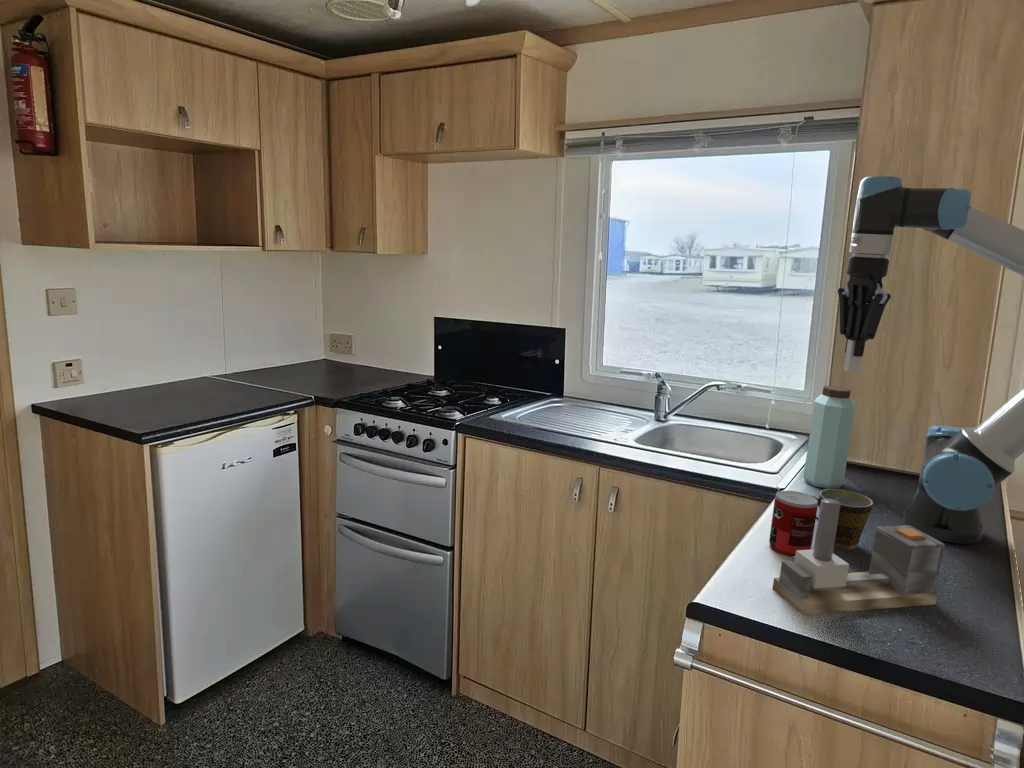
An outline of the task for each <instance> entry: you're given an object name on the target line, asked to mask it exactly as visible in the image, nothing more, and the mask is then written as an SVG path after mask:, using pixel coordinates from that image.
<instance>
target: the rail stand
mask: <svg viewBox="0 0 1024 768" xmlns="http://www.w3.org/2000/svg"><path fill="white" fill-rule="evenodd" d="M875 527H876V529H875V535H874V540H873V546H872V551H871V558H870V564H869V570H868V571H861V572H859V571H858V572H848V575H847V581H846V586H842V587H828V588H813V587H812V586H811V585H810V583H811V576H810V575H809V574H807V573H806V572H805V571H803V570H802V569H801V568H799V567H798V566H797V565H796V564H794V562H793V561H792V560H790V559H789V560H782V561H781V565H780V571H779V577H774V578H773V582H772V589H773V590H774V591H775V592H776V593H777V594H778V595H779V596H780V597H782V598H783V599H784V600H785V601H786V602H788V603H789V604H790V605H791V606H793V607H794V608H795V609H796V610H797V611H798V612H799V613H800V614H801V615H803V616H809V615H819V614H830V613H831V614H833V613H845V612H847V613H848V612H858V611H869V610H871V611H872V610H881V609H883V610H884V609H892V608H893V609H895V608H907V607H920V606H921V607H922V606H929V605H931V606H932V605H936V604H937V600H938V599H937V598H938V593H937V592H936V591H937V587H938V586H937V585H938V582H939V581H938V580H939V575H940V572H941V571H940V570H941V566H942V561H943V555H944V550H945V546H946V545H945V543H943V541H941V540H937V539H934V538H933V537H931V536H929V535H927V534H925V533H923V532H921V531H920V530H918V529H916V528H914V527H912V526H910V525H904V524H903V525H885V526H875ZM907 528H912V529H914V530H915V531H917V532H919V533H921V534H923V535H924V539H919V540H908V539H906V538H904V537H902V536H901V535H899V534H897V533H896V531H897V529H907Z"/></svg>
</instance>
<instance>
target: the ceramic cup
mask: <svg viewBox="0 0 1024 768" xmlns="http://www.w3.org/2000/svg"><path fill="white" fill-rule="evenodd" d="M818 494H819V498H818V497H816V495H812V494H811V495H810V494H809V495H810V496H812V497H814V498H816V499H817V501H818V508H819V509H820V505H821V500H822V499H832V500H836V501H838V502H840V503H841V504H840V511H839V517H838V523H837V530H836V536H835V542H834V549H835V548H837V549H838V550H841V549H844V550H843V551H851V550H850V549H852V550H855V549H854V548H856V549H857V548H858V545H859V543H860V540H861V537H862V534H863V531H864V529H865V526H866V524H867V522H868V519H869V517H870V515H871V512H872V508H873V506H874V502H873V500H872V499H871V498H869V497H868V496H866V495H863V494H861V493H858V492H855V491H851V490H845V489H840V488H834V489H826V488H825V489H822V490H820V491H819V493H818ZM818 518H819V516H816V520H817V522H818ZM837 549H836V550H837Z"/></svg>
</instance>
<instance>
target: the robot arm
mask: <svg viewBox="0 0 1024 768" xmlns="http://www.w3.org/2000/svg"><path fill="white" fill-rule="evenodd" d="M857 192H858V193H857V197H856V200H855V206H854V207H855V209H854V216H853V225H852V231H851V239H850V245H849V253H850V254H852V255H851V256H849V257H847V263H846V268H845V269H846V271H845V272H846V274H847V275H848V276H849V278H848V280H847V282H846V283H847V284H846V285H845V286H844V287H839V288H838V289H837V295H838V298H839V333H840V335H843V336H844V337H845V339H846V342H845V349H844V353H845V355H844V364H843V369H842V370H843V371H844V372H849V373H852V372H853V373H855V372H856V373H860V369H861V363H862V362H861V361H862V358H863V356H864V351H865V348H866V347H865V346H866V342H867V341H868V340H874V339H875V337H876V334H877V332H878V331H877V330H878V328H879V326H880V322H881V319H882V316H883V314H884V311H885V307H886V305H888V302H889V301H890V300H891V294H890V293H886V292H885V291H884V290H883V278H885V277H887V276H888V272H889V271H888V270H889V265H890V260H889V258H887V257H888V256H890V255H891V253H892V247H893V241H894V233H895V232H894V231H895V228H896V227H898V228H913V229H914V228H915V229H921V230H924V231H927V232H930V233H932V234H934V235H935V236H936V235H937V236H938V237H941V238H942V239H946V240H947V241H950V242H951V243H953V244H955V245H958V246H960V247H962V248H964V249H966V250H968V251H971V252H973V253H975V254H976V255H979V256H981V257H982V258H984V259H987V260H989V261H991V262H993V263H996V264H998V265H999V266H1001V267H1004V268H1006V269H1007V270H1010V271H1012V272H1014V273H1016V274H1018V275H1020V276H1023V277H1024V229H1022V228H1019V227H1017V226H1015V225H1013V224H1011V223H1009V222H1006V221H1004V220H1002V219H1000V218H998V217H995V216H993V215H991V214H988V213H987V212H985V211H982V210H980V209H978V208H976V207H973V206H971V199H972V192H971V191H970V190H969V189H967V188H966V189H965V188H954V187H948V188H945V187H941V188H939V187H927V188H925V187H923V188H922V187H921V188H920V187H917V188H915V187H913V188H912V187H911V188H910V187H906V186H905V187H903V179H902V178H901V177H899V176H890V175H889V176H888V175H887V176H886V175H873V176H871V175H870V176H866V177H863V179H862V180H860V182H859V188H858V191H857ZM925 440H926V441H925V446H924V452H923V458H922V463H921V468H920V474H919V478H918V485H917V490H916V491H915V493H914V495H913V496H912V498H911V500H910V502H909V504H908V506H907V507H906V508H905V509H904V512H903V517H902V523H903V525H910V526H912V527H914V528H916V529H918V530H920V531H921V532H923V533H925V534H927V535H929V536H931V537H933V538H934V539H936V540H938V541H940V542H946V543H951V544H952V543H953V544H963V545H965V544H967V545H969V544H976V543H979V542H981V540H983V534H984V526H983V524H982V517H981V516H982V515H981V508H980V507H981V506H984V504H985V503H987V501H989V500H990V498H991V497H992V494H993V493H994V491H995V487H997V486H998V485H999V484H1001V483H1002V482H1003V481H1005V480H1006V479H1007V478H1008V477H1009V476H1011V475H1012V474H1013V473H1015V462H1016V459H1017V458H1019V457H1020V456H1021V455H1023V454H1024V387H1022V388H1021V389H1020V390H1019V391H1018V392H1016V393H1015V394H1014V395H1013V396H1011V397H1010V399H1008V400H1007V401H1006V402H1005V403H1003V405H1001V406H1000V407H999V408H997V409H996V410H995V411H994V412H993V413H992V414H990V415H989V416H988V417H987V418H986V419H984V420H983V421H982V422H981V423H980V424H979V425H977V426H976V427H956V426H949V425H932V426H929V429H928V431H927V435H926V436H925Z"/></svg>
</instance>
